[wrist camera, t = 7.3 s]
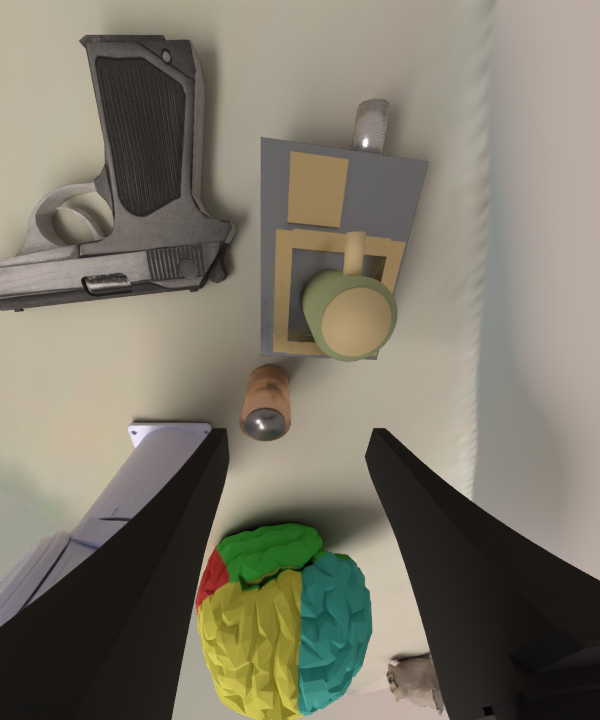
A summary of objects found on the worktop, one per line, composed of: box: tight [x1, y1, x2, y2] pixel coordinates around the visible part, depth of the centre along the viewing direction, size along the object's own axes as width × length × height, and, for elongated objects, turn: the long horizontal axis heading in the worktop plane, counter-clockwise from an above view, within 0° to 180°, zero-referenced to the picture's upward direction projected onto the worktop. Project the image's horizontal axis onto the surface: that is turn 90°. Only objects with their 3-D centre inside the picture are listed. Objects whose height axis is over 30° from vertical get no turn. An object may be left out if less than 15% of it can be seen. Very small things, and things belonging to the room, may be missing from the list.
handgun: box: [0, 35, 237, 312], centre depth 13 cm, size 18×2×12 cm
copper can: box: [240, 365, 291, 441], centre depth 18 cm, size 4×4×6 cm
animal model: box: [386, 652, 446, 716], centre depth 73 cm, size 14×28×17 cm
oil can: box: [301, 232, 397, 361], centre depth 11 cm, size 5×4×6 cm
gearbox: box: [261, 99, 428, 360], centre depth 14 cm, size 14×9×5 cm, turn 175°
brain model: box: [195, 523, 372, 720], centre depth 28 cm, size 24×19×15 cm
